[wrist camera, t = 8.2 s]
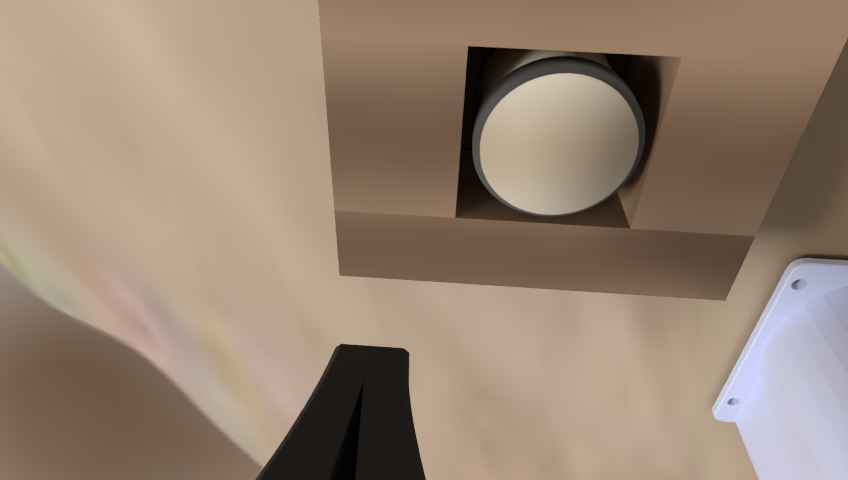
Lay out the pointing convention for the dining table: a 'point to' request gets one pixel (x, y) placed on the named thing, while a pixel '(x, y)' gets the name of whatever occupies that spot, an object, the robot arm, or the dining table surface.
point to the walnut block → (626, 209)
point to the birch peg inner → (554, 130)
